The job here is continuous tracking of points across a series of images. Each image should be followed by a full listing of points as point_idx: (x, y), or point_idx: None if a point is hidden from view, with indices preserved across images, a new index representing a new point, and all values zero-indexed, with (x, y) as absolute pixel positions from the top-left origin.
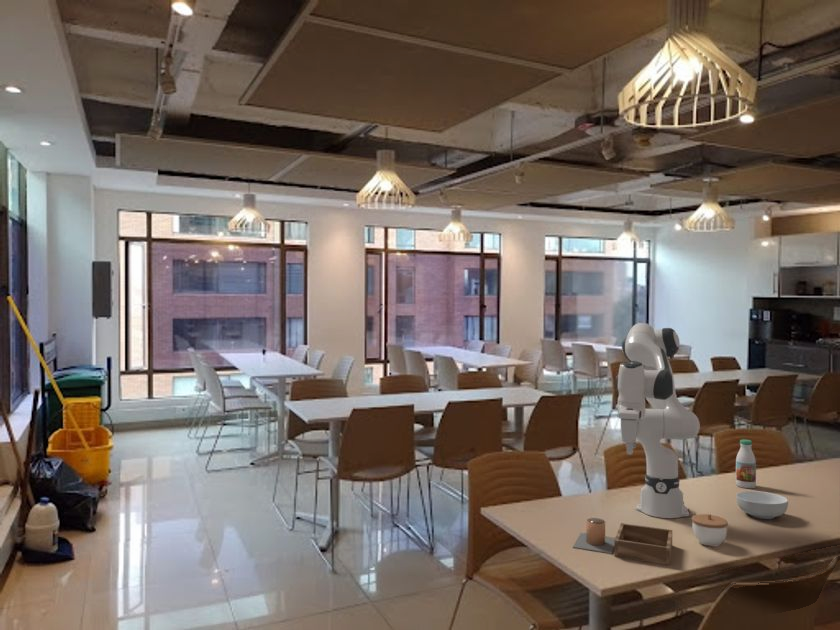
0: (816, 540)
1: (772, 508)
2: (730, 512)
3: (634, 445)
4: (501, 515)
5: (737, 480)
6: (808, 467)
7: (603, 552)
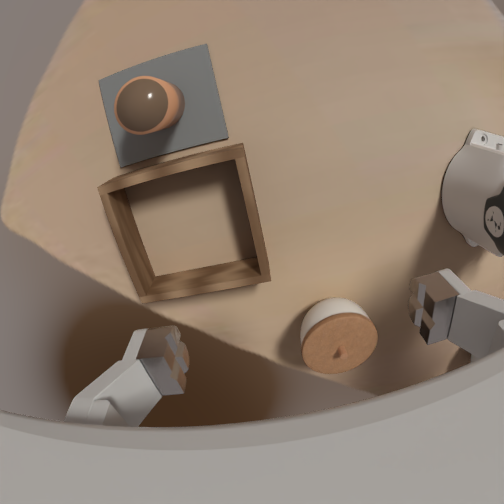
0: None
1: None
2: (499, 296)
3: (422, 329)
4: None
5: None
6: None
7: (116, 148)
